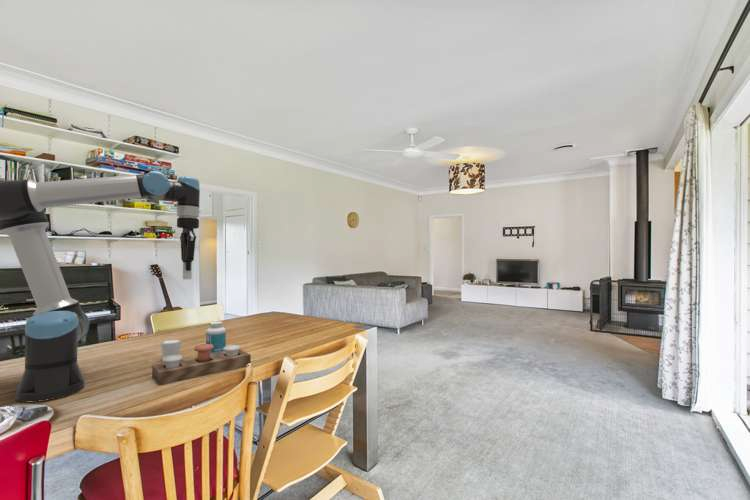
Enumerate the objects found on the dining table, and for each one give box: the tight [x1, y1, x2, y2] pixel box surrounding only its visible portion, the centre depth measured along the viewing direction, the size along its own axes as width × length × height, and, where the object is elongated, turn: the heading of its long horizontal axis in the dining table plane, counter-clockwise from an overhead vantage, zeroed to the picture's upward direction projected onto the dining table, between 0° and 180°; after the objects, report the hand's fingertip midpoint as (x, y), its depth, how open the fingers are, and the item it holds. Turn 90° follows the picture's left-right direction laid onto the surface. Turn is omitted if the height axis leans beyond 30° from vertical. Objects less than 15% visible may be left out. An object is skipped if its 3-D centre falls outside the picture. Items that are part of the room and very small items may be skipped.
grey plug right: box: [224, 344, 242, 357], centre depth 133 cm, size 6×6×6 cm
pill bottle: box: [205, 321, 227, 355], centre depth 145 cm, size 8×7×14 cm
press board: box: [151, 349, 252, 386], centre depth 126 cm, size 30×10×4 cm, turn 133°
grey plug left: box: [162, 354, 184, 369], centre depth 119 cm, size 6×6×6 cm
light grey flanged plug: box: [160, 339, 182, 359], centre depth 139 cm, size 7×7×7 cm
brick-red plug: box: [194, 343, 213, 363], centre depth 126 cm, size 6×6×6 cm
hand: (187, 279), depth 135 cm, fingers closed
